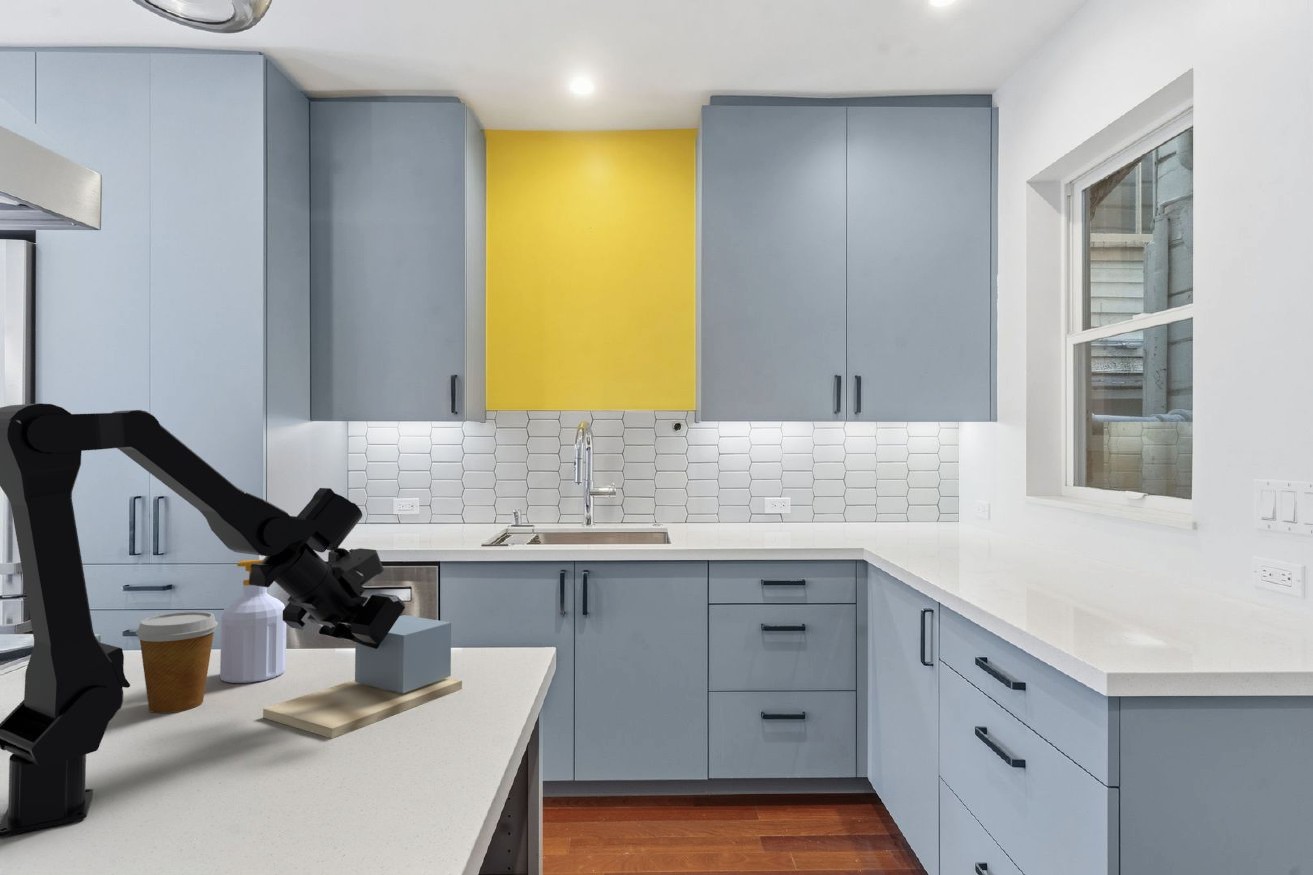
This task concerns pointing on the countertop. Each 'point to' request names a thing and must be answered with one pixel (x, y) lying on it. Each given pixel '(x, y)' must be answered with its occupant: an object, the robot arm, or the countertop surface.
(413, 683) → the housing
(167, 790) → the countertop surface
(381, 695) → the flat panel
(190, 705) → the disposable coffee cup
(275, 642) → the soap bottle
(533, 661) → the countertop surface
